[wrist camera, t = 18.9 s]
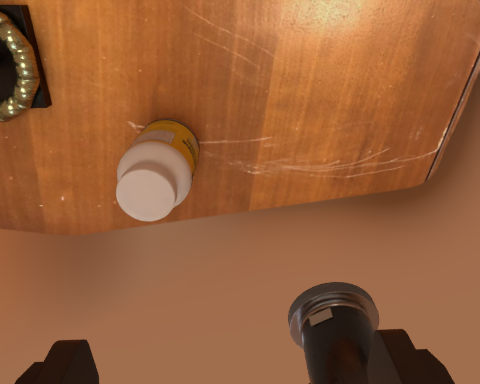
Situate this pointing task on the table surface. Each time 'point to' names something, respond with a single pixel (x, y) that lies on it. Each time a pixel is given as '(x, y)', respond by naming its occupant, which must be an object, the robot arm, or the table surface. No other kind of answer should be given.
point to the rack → (3, 70)
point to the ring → (18, 70)
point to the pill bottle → (157, 170)
